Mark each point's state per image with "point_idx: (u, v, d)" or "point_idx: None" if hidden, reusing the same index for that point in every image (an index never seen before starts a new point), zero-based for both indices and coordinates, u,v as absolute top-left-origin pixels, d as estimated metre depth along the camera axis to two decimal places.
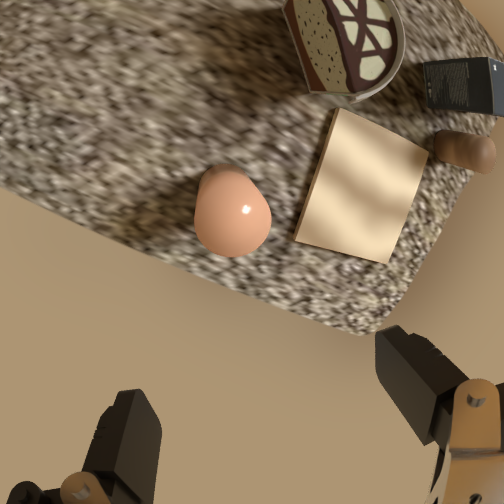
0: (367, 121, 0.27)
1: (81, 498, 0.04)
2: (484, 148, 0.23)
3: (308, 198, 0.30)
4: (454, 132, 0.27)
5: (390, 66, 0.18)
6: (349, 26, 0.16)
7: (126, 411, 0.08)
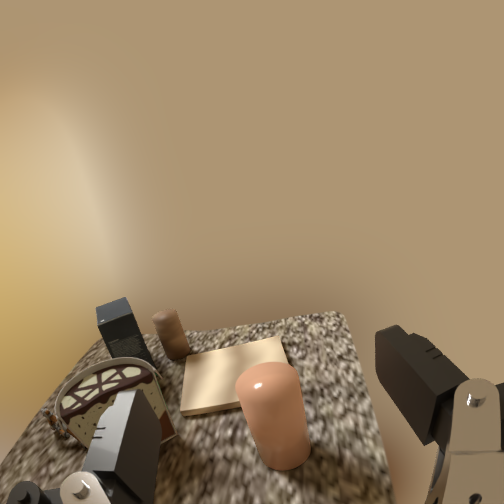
0: (183, 393, 0.36)
1: (81, 498, 0.04)
2: (160, 317, 0.45)
3: None
4: (163, 346, 0.45)
5: (126, 364, 0.30)
6: (106, 387, 0.26)
7: (126, 411, 0.08)
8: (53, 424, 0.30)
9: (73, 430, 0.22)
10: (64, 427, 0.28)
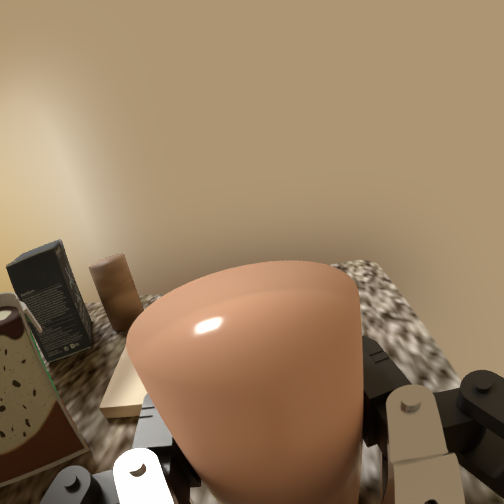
0: (112, 378, 0.19)
1: (140, 476, 0.05)
2: (99, 264, 0.28)
3: None
4: (105, 309, 0.29)
5: (1, 307, 0.13)
6: None
7: None
8: None
9: None
10: None
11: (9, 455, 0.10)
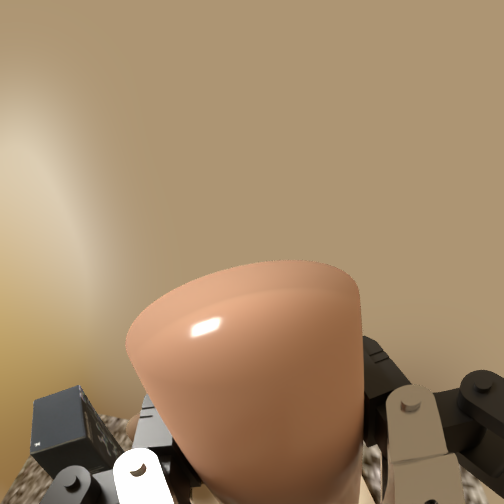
0: None
1: (140, 476, 0.05)
2: None
3: None
4: None
5: None
6: None
7: None
8: None
9: None
10: None
11: None
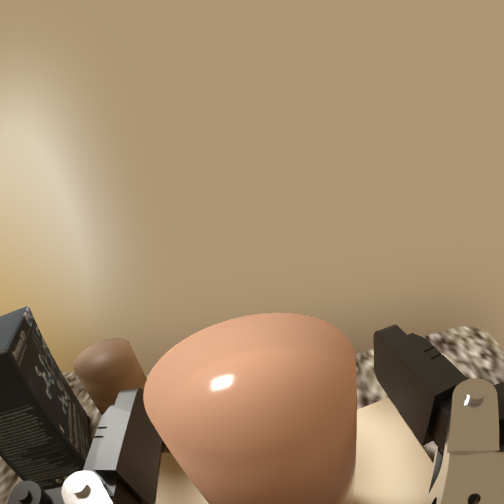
0: None
1: (83, 497, 0.04)
2: (90, 361, 0.16)
3: None
4: None
5: None
6: None
7: (127, 410, 0.08)
8: None
9: None
10: None
11: None
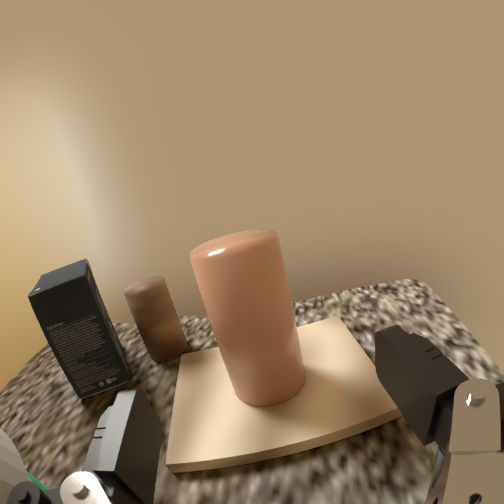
0: (172, 426, 0.17)
1: (81, 498, 0.04)
2: (136, 289, 0.26)
3: (332, 437, 0.15)
4: (143, 338, 0.27)
5: None
6: None
7: (126, 411, 0.08)
8: None
9: None
10: None
11: None
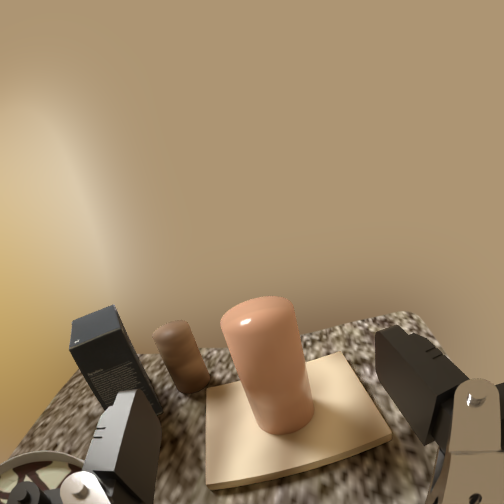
0: (207, 453, 0.21)
1: (81, 498, 0.04)
2: (164, 334, 0.30)
3: (336, 458, 0.18)
4: (171, 375, 0.30)
5: None
6: None
7: (126, 411, 0.08)
8: None
9: None
10: None
11: None
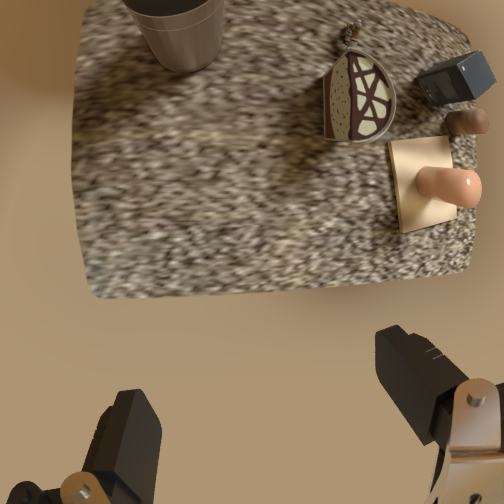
0: (408, 140, 0.40)
1: (81, 498, 0.04)
2: (478, 117, 0.34)
3: (398, 204, 0.43)
4: (456, 113, 0.38)
5: (380, 129, 0.31)
6: (360, 98, 0.30)
7: (126, 411, 0.08)
8: (351, 28, 0.34)
9: (342, 57, 0.30)
10: (351, 46, 0.34)
11: (328, 101, 0.36)
